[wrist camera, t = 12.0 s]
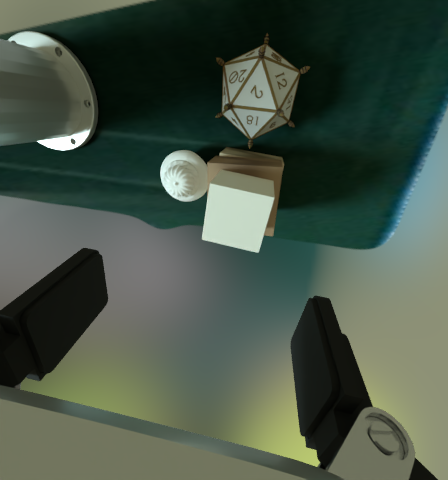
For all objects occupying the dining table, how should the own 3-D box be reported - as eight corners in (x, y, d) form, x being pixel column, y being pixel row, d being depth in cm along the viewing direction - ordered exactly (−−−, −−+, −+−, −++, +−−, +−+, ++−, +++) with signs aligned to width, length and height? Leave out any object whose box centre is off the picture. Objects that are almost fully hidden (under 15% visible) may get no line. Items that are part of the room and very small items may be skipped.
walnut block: (214, 215, 29) (207, 229, 26) (215, 155, 26) (207, 162, 22) (272, 220, 28) (273, 236, 25) (281, 159, 25) (283, 167, 21)
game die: (249, 112, 31) (191, 137, 26) (259, 24, 24) (184, 36, 19) (310, 136, 27) (256, 171, 22) (341, 40, 21) (275, 60, 16)
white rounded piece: (208, 199, 33) (195, 218, 27) (167, 184, 33) (145, 200, 27) (220, 155, 30) (208, 165, 24) (175, 139, 30) (152, 146, 24)
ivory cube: (221, 169, 22) (209, 183, 18) (273, 180, 22) (274, 197, 18) (213, 217, 25) (201, 239, 21) (260, 227, 25) (258, 252, 20)
